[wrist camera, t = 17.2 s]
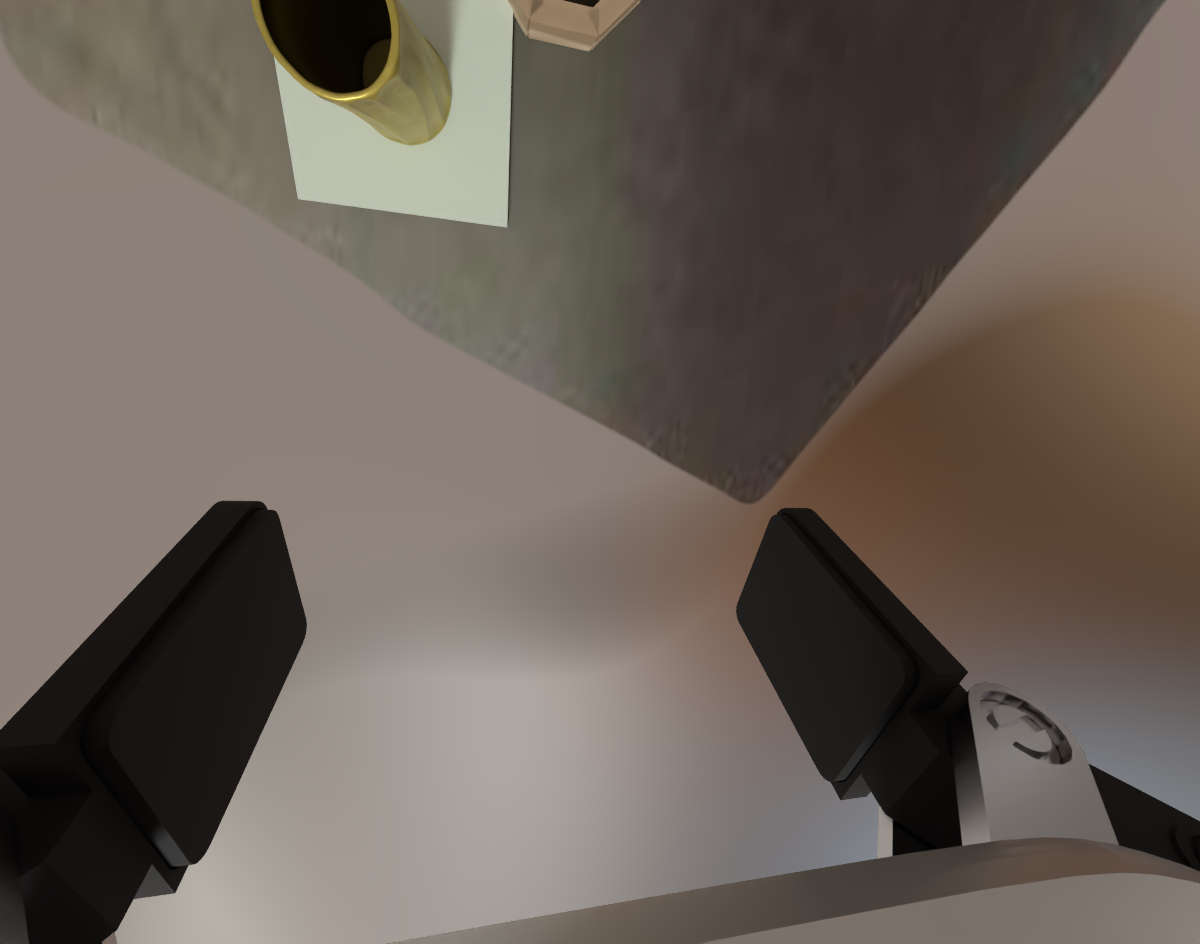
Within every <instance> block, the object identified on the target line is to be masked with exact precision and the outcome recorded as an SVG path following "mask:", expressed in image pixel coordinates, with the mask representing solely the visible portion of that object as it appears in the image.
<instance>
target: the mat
mask: <svg viewBox="0 0 1200 944" xmlns="http://www.w3.org/2000/svg"><path fill="white" fill-rule="evenodd" d="M400 1H401V3H402V5H403V6H404V8H405V9H406V11H407V12H408V14H409V16H410V17H411V19H412V20H413V22H414V23H415V25H416V26H417V28H418V29H419V31H420V32H421V34H422V35H423V36H424V37H425V38H426V39H427V40H428V41H429V42H430V43H431V45H432V46H433V47H434V48H435V50H436V51H437V52H438V54H439V56H440V57H441V59H442V61H443V64H444V66H445V69H446V71H447V75H448V78H449V83H450V88H451V104H450V112H449V116H448V119H447V122H446V124H445V126H444V128H443V129H442V130H441V132H440V133H439V134H438V135H437V136H436V137H435V138H433V139H432V140H430V141H429V142H427V143H423V144H419V145H413V146H409V145H404V144H401V143H398V142H394V141H392V140H389V139H387V138H385V137H384V136H382V135H381V134H380V133H379V132H377V131H376V130H375V129H374V128H373V127H372V126H371V125H369V124H368V123H367V122H365V121H364V120H363V119H361V118H360V117H358V116H357V115H355V114H354V113H352V112H350V111H348V110H346V109H344V108H342V107H340V106H338V105H336V104H334V103H331V102H328V101H326V100H324V99H321V98H320V97H318V96H317V95H315V94H314V93H313V92H311V91H309V90H308V89H306V88H305V87H303V86H302V85H301V84H300V83H299V82H298V81H296V80H295V79H294V78H293V77H292V76H291V75H290V74H289V73H288V72H287V71H286V69H285V68H284V67H283V66H282V65H281V64H280V63H279V62H278V61H277V60H276V58H275V57H274V59H275V65H276V71H277V77H278V83H279V89H280V95H281V101H282V107H283V112H284V118H285V124H286V130H287V136H288V142H289V148H290V154H291V160H292V166H293V172H294V178H295V184H296V190H297V196H298V199H302V200H310V201H317V202H324V203H332V204H339V205H346V206H354V207H361V208H368V209H376V210H383V211H391V212H398V213H405V214H413V215H420V216H427V217H435V218H442V219H449V220H457V221H464V222H471V223H479V224H486V225H493V226H501V227H507V220H508V183H509V146H510V110H511V73H512V36H513V10H512V8H511V6H510V5H509V3H508V2H507V0H400Z"/></svg>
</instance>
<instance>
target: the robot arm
mask: <svg viewBox="0 0 1200 944" xmlns="http://www.w3.org/2000/svg"><path fill="white" fill-rule="evenodd" d="M736 612H737V618H738V621H739V623H740V625H741V627H742V629H743V631H744V633H745V634H746V636H747V638H748V640H749V642H750V644H751V646H752V648H753V649H754V651H755V653H756V655H757V657H758V659H759V661H760V662H761V664H762V666H763V668H764V670H765V672H766V674H767V676H768V678H769V679H770V681H771V683H772V685H773V687H774V689H775V690H776V692H777V694H778V696H779V698H780V700H781V702H782V704H783V706H784V707H785V709H786V711H787V713H788V715H789V717H790V719H791V720H792V722H793V724H794V726H795V728H796V730H797V732H798V733H799V735H800V737H801V739H802V741H803V743H804V745H805V746H806V749H807V750H808V752H809V754H810V756H811V758H812V760H813V762H814V763H815V765H816V767H817V769H818V771H819V772H820V774H821V775H822V776H823V777H824V778H825V779H826V780H827V781H830V782H831V784H832V785H833V787H834V789H835V791H836V792H837V794H838V796H839V798H840V800H845V799H852V798H859V797H866V796H867V795H868V794H869V793H870V792H872V793H873V795H874V797H875V798H876V800H877V802H878V803H879V816H878V846H877V847H878V848H877V859H873V860H867V861H861V862H855V863H849V864H843V865H837V866H831V867H825V868H819V869H813V870H807V871H801V872H795V873H790V874H783V875H777V876H771V877H766V878H759V879H753V880H747V881H742V882H736V883H731V884H724V885H719V886H713V887H707V888H701V889H695V890H690V891H684V892H678V893H672V894H666V895H661V896H655V897H649V898H643V899H637V900H632V901H626V902H620V903H615V904H609V905H603V906H597V907H592V908H586V909H580V910H575V911H569V912H563V913H557V914H552V915H546V916H540V917H534V918H529V919H523V920H517V921H511V922H506V923H500V924H495V925H489V926H484V927H478V928H472V929H466V930H461V931H455V932H450V933H444V934H439V935H433V936H428V937H422V938H416V939H411V940H405V941H399V942H394V943H388V944H1200V821H1198V820H1196V819H1194V818H1192V817H1191V816H1188V815H1187V814H1185V813H1183V812H1181V811H1179V810H1177V809H1175V808H1173V807H1171V806H1169V805H1167V804H1165V803H1163V802H1162V801H1159V800H1158V799H1156V798H1154V797H1152V796H1150V795H1148V794H1146V793H1144V792H1142V791H1140V790H1138V789H1136V788H1134V787H1133V786H1131V785H1129V784H1127V783H1125V782H1123V781H1121V780H1119V779H1117V778H1115V777H1113V776H1111V775H1109V774H1107V773H1106V772H1104V771H1102V770H1100V769H1098V768H1096V767H1094V766H1092V765H1090V764H1088V761H1087V758H1086V756H1085V753H1084V751H1083V749H1082V748H1081V746H1080V744H1079V742H1078V740H1077V739H1076V737H1075V736H1074V735H1073V734H1072V733H1071V732H1070V730H1069V729H1068V728H1067V727H1066V726H1065V725H1064V724H1063V723H1062V722H1061V721H1060V720H1059V719H1058V718H1057V717H1056V716H1054V715H1053V714H1052V713H1051V712H1050V711H1049V710H1048V709H1046V708H1045V707H1043V706H1042V705H1040V704H1039V703H1037V702H1036V701H1034V700H1033V699H1032V698H1030V697H1028V696H1026V695H1024V694H1022V693H1020V692H1018V691H1017V690H1014V689H1012V688H1009V687H1006V686H1003V685H1000V684H996V683H989V682H982V683H977V684H974V685H973V686H972V688H970V689H969V691H968V692H966V691H965V690H964V689H963V688H962V686H961V685H960V684H959V683H960V682H961V680H962V679H963V678H964V677H965V675H966V674H967V673H968V671H967V670H966V669H965V668H964V667H963V666H962V665H961V664H960V663H959V662H958V661H957V660H956V659H955V658H954V657H953V656H952V655H951V654H950V652H949V651H948V650H947V649H946V648H945V647H944V646H943V645H941V643H940V642H939V641H938V640H937V639H936V638H935V637H934V636H933V635H932V634H931V633H930V632H929V631H928V629H927V628H926V627H925V626H924V625H923V624H922V623H921V622H920V621H919V620H918V619H917V618H916V617H915V616H914V615H913V614H912V613H911V612H910V611H909V610H908V609H907V608H906V607H905V606H904V605H903V603H902V602H901V601H900V600H899V599H898V598H897V597H896V596H895V595H894V594H893V593H892V592H891V591H890V590H889V589H888V588H887V587H886V586H885V585H884V584H883V583H882V581H881V580H880V579H879V578H878V577H877V576H876V575H875V574H874V573H873V572H872V571H871V570H870V569H869V568H868V567H867V566H866V565H865V564H864V563H863V562H862V561H861V560H860V559H859V558H858V556H857V555H856V554H855V553H854V552H853V551H852V550H851V549H850V548H849V547H848V546H847V545H846V544H845V543H844V542H843V541H842V540H841V539H840V538H839V537H838V536H837V535H836V533H835V532H834V531H833V530H832V529H830V527H829V526H828V525H827V524H826V523H825V522H824V521H823V520H822V519H821V518H820V517H819V516H818V515H817V514H816V513H815V512H814V511H813V510H811V509H808V508H783V509H781V510H780V511H779V512H778V513H777V515H774V516H772V517H771V519H770V521H769V523H768V526H767V529H766V531H765V534H764V536H763V539H762V542H761V544H760V547H759V549H758V552H757V554H756V557H755V560H754V562H753V565H752V568H751V570H750V572H749V575H748V578H747V580H746V583H745V585H744V588H743V591H742V593H741V596H740V598H739V601H738V604H737V609H736ZM306 628H307V622H306V617H305V613H304V609H303V606H302V602H301V598H300V594H299V591H298V587H297V583H296V579H295V575H294V572H293V568H292V564H291V560H290V557H289V553H288V549H287V545H286V542H285V538H284V534H283V530H282V527H281V523H280V519H279V516H278V514H277V512H276V511H274V510H267V507H266V506H265V505H264V503H262V502H260V501H220V502H217V503H216V504H215V505H213V506H212V507H211V509H209V510H208V512H207V513H206V514H205V515H204V516H203V517H202V518H201V519H200V520H199V521H198V522H197V523H196V524H195V525H194V526H193V527H192V528H191V529H190V531H189V532H188V533H187V534H186V535H185V536H184V537H183V538H182V539H181V540H180V541H179V542H178V543H177V544H176V545H175V546H174V547H173V549H171V551H170V552H169V553H168V554H167V555H166V556H165V557H164V558H163V559H162V560H161V561H160V562H159V563H158V565H156V567H154V569H153V570H152V571H151V572H150V573H149V574H148V575H147V576H146V577H145V578H144V579H143V580H142V581H141V582H140V583H139V584H138V585H137V586H136V588H135V589H134V590H133V591H132V592H131V593H130V594H129V595H128V596H127V597H126V598H125V599H124V600H123V601H122V602H121V603H120V604H119V605H118V606H117V608H116V609H115V610H114V611H113V612H112V613H111V614H110V615H109V616H108V617H107V618H106V619H105V620H104V621H103V622H102V623H101V624H100V626H99V627H98V628H97V629H96V630H95V631H94V632H93V633H92V634H91V635H90V636H89V637H88V638H87V639H86V640H85V641H84V642H83V643H82V644H81V645H80V647H79V648H78V649H77V650H76V651H75V652H74V653H73V654H72V655H71V656H70V657H69V658H68V659H67V660H66V661H65V662H64V663H63V664H62V666H61V667H60V668H59V669H58V670H57V671H56V672H55V673H54V674H53V675H52V676H51V677H50V678H49V679H48V680H47V681H46V682H45V683H44V685H43V686H42V687H41V688H40V689H39V690H38V691H37V692H36V693H35V694H34V695H33V696H32V697H31V698H30V699H29V700H28V701H27V702H26V704H25V705H24V706H23V707H22V708H21V709H20V710H19V711H18V712H17V713H16V714H15V715H14V716H13V717H12V718H11V720H9V721H8V723H7V724H6V725H5V726H4V727H3V728H2V729H1V730H0V944H117V941H116V937H115V931H116V930H117V929H118V927H119V925H120V923H121V921H122V920H123V918H124V916H125V914H126V912H127V910H128V908H129V906H130V905H131V903H132V901H133V899H137V898H144V897H151V896H158V895H166V894H172V893H175V892H176V890H177V888H178V886H179V884H180V882H181V880H182V878H183V875H184V873H185V871H186V869H187V867H188V865H192V864H196V863H197V862H198V861H199V860H201V859H202V857H203V856H204V855H205V853H206V852H207V849H208V848H209V846H210V844H211V842H212V840H213V837H214V835H215V833H216V831H217V829H218V827H219V824H220V822H221V820H222V818H223V816H224V813H225V811H226V809H227V807H228V805H229V803H230V800H231V798H232V796H233V794H234V792H235V790H236V787H237V785H238V783H239V781H240V779H241V776H242V774H243V772H244V770H245V768H246V766H247V763H248V761H249V759H250V757H251V755H252V752H253V750H254V748H255V746H256V744H257V742H258V739H259V737H260V735H261V733H262V731H263V729H264V726H265V724H266V722H267V720H268V718H269V715H270V713H271V711H272V709H273V707H274V705H275V702H276V700H277V698H278V696H279V694H280V691H281V689H282V687H283V685H284V683H285V681H286V678H287V676H288V674H289V672H290V670H291V668H292V665H293V663H294V661H295V659H296V657H297V654H298V652H299V650H300V648H301V645H302V644H303V641H304V638H305V635H306Z"/></svg>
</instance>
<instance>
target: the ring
mask: <svg viewBox="0 0 1200 944" xmlns="http://www.w3.org/2000/svg"><path fill="white" fill-rule="evenodd" d="M640 1H641V0H600V1H599V2H598V3H597V4H596V5H595V6H594V7H589V6H584V5H580V4H576V3H572V2H568V1H564V0H507V2H508V3H509V5H510V6H511V8H512V10H513V16H514V17H515V19H516V20H517V22H518V24H519V25H520V27H521V29H522V30H523V32H524V33H525V35H526V36H527V35H528V38H531V39H535V40H540V41H544V42H549V43H553V44H558V45H562V46H567V47H571V48H576V49H580V50H584V51H590V50H592V49H593V48H594V47H595V46H596V45H597V44H598V43H599V42H600V41H601V40H602V39H603V38H604V37H605V36H606V35H607V34H608V33H609V32H610V31H611V30H612V29H613V28H615V27H616V26H617V25H618V24H619V23H620V22H621V21H622V20H623V19H624V18H625V17H626V16H627V15H628V14H629V13H630V12H631V11H632V10H633V9H634V8H635V7H636V6H637V5H638V4H639V2H640Z"/></svg>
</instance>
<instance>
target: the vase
mask: <svg viewBox="0 0 1200 944" xmlns="http://www.w3.org/2000/svg"><path fill="white" fill-rule="evenodd" d="M251 3H252V8H253V12H254V16H255V19H256V22H257V24H258V26H259V29H260V31H261V34H262V36H263V38H264V40H265V42H266V44H267V46H268V48H269V50H270V51H271V53H272V54H273V56H274V57H275V58H276V60H277V61H278V62H279V63H280V64H281V65H282V66H283V67H284V68H285V69H286V71H287V72H288V73H289V74H290V75H291V76H292V77H293V78H294V79H295V80H296V81H298V82H299V83H300V84H301V85H302V86H303V87H305V88H306V89H308V90H309V91H311V92H313V93H314V94H315V95H317V96H318V97H320V98H321V99H324V100H326V101H328V102H331V103H334V104H336V105H338V106H340V107H342V108H344V109H346V110H348V111H350V112H352V113H354V114H355V115H357V116H358V117H360V118H361V119H363V120H364V121H365V122H367V123H368V124H369V125H371V126H372V127H373V128H374V129H375V130H376V131H377V132H379V133H380V134H381V135H382V136H384V137H385V138H387V139H389V140H392V141H394V142H398V143H401V144H404V145H409V146H413V145H419V144H423V143H427V142H429V141H430V140H432V139H433V138H435V137H436V136H437V135H438V134H439V133H440V132H441V130H442V129H443V128H444V126H445V124H446V122H447V119H448V116H449V112H450V104H451V88H450V83H449V78H448V75H447V71H446V69H445V66H444V64H443V61H442V59H441V57H440V56H439V54H438V52H437V51H436V50H435V48H434V47H433V46H432V45H431V43H430V42H429V41H428V40H427V39H426V38H425V37H424V36H423V35H422V34H421V32H420V31H419V29H418V28H417V26H416V25H415V23H414V22H413V20H412V19H411V17H410V16H409V14H408V12H407V11H406V9H405V8H404V6H403V5H402V3H401V1H400V0H251Z"/></svg>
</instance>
